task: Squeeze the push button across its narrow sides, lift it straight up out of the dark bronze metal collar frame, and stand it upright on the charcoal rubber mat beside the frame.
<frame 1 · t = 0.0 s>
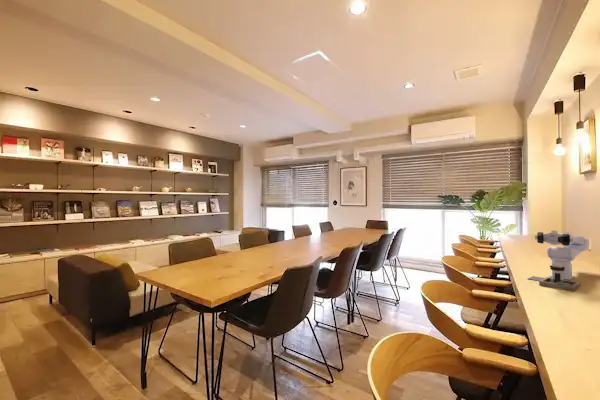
hand: (548, 238, 136), 22 cm above the table, tool horizontal, fingers open, 7 cm apart
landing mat: (538, 279, 143), on the table
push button: (559, 286, 132), on the table
collar frame: (559, 286, 132), on the table
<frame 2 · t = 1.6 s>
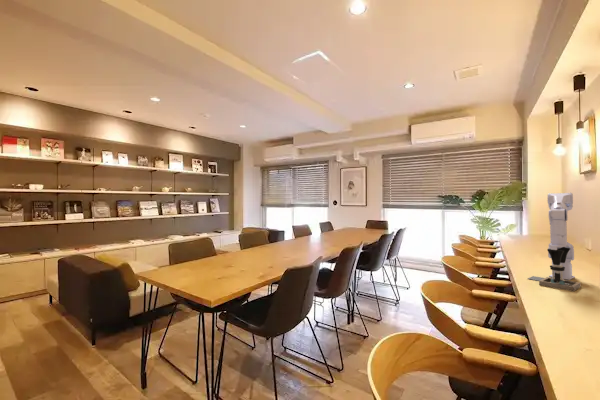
hand: (559, 263, 132), 10 cm above the table, tool pointing down, fingers open, 7 cm apart
nothing on the table moved.
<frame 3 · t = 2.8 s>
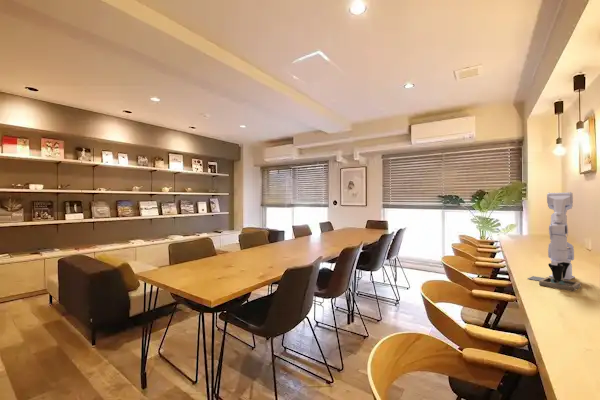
hand: (559, 278, 132), 3 cm above the table, tool pointing down, fingers closed on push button, 5 cm apart
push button: (559, 286, 132), on the table, touching gripper
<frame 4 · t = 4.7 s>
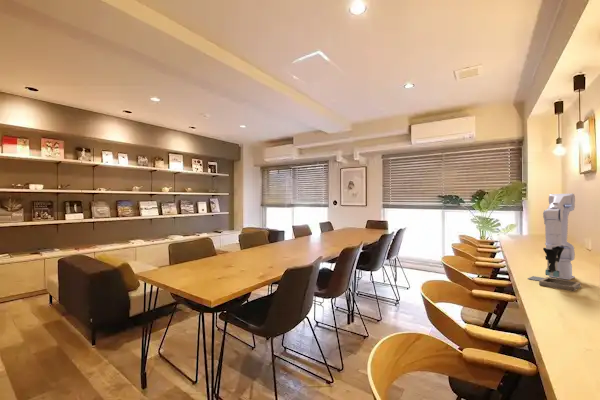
hand: (553, 262, 135), 10 cm above the table, tool pointing down, fingers closed on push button, 5 cm apart
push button: (554, 276, 135), point 4 cm above the table, touching gripper
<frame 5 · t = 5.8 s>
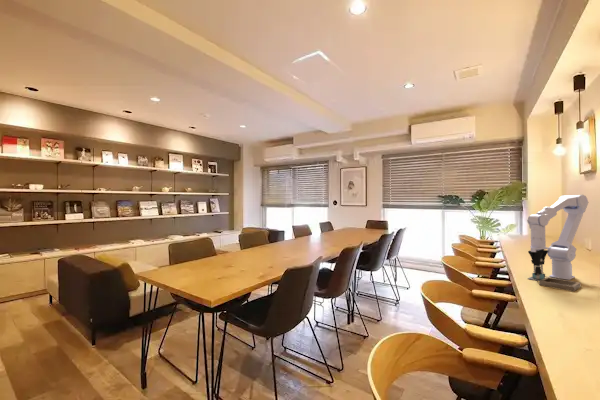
hand: (538, 264, 143), 7 cm above the table, tool pointing down, fingers closed on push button, 5 cm apart
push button: (540, 279, 143), on the table, touching gripper, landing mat
when the fingers open (5 cm above the table, at t = 6.8 s): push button stays where it is, resting on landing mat.
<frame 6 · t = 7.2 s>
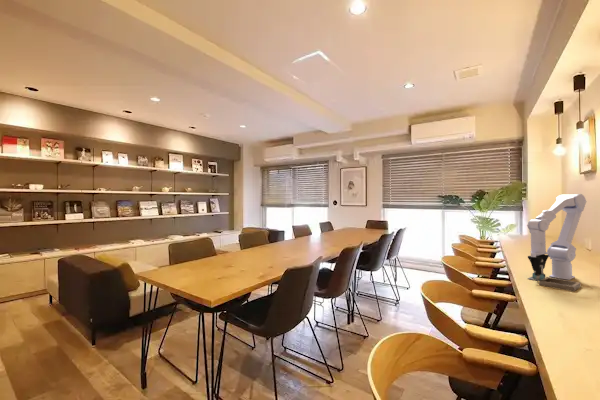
hand: (538, 269, 143), 5 cm above the table, tool pointing down, fingers open, 7 cm apart
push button: (540, 279, 143), resting on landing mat
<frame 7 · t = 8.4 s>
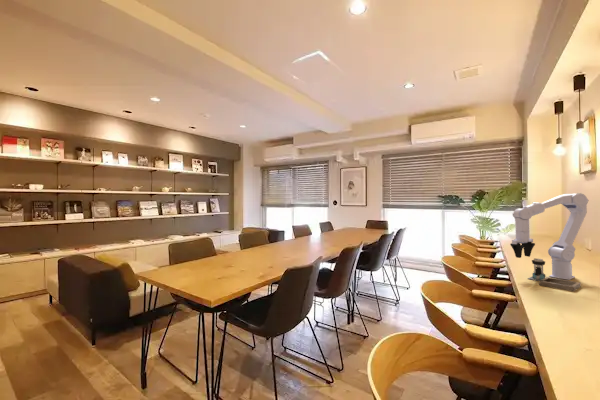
hand: (522, 256, 149), 10 cm above the table, tool pointing down, fingers open, 7 cm apart
nothing on the table moved.
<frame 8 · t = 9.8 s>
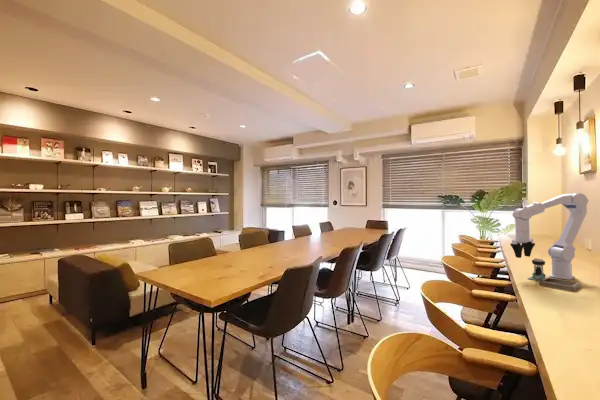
hand: (522, 256, 149), 10 cm above the table, tool pointing down, fingers open, 7 cm apart
nothing on the table moved.
at the end: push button inside the target area (0.8 cm from its centre), on the table; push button tilted 0°; the gripper is holding nothing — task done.
